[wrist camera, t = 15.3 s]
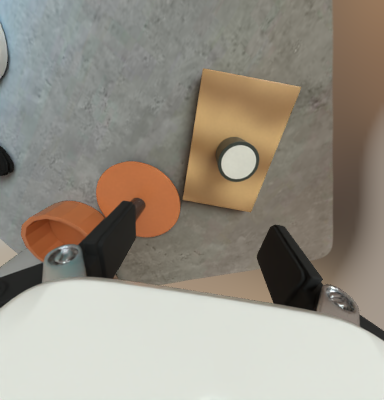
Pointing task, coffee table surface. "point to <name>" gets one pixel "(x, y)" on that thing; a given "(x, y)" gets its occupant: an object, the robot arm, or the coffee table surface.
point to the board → (235, 134)
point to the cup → (19, 263)
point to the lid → (140, 196)
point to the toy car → (5, 163)
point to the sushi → (236, 159)
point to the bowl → (59, 227)
